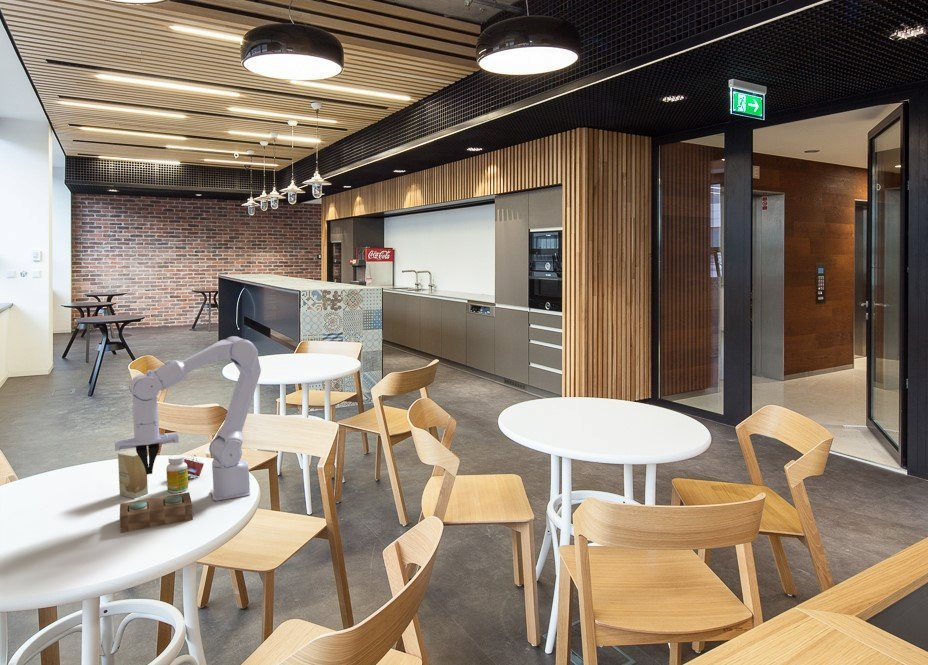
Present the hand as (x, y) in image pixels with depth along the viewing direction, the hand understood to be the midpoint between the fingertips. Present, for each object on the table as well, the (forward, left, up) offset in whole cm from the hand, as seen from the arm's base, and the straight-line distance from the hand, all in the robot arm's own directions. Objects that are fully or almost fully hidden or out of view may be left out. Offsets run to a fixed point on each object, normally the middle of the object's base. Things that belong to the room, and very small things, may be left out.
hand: (149, 473), depth 159 cm
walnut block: (-1, +6, -10) cm, 12 cm away
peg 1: (+3, +6, -10) cm, 12 cm away
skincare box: (+4, -15, -11) cm, 19 cm away
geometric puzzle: (-11, -22, -11) cm, 27 cm away
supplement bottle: (-7, -13, -11) cm, 18 cm away
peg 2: (-5, +6, -10) cm, 13 cm away
